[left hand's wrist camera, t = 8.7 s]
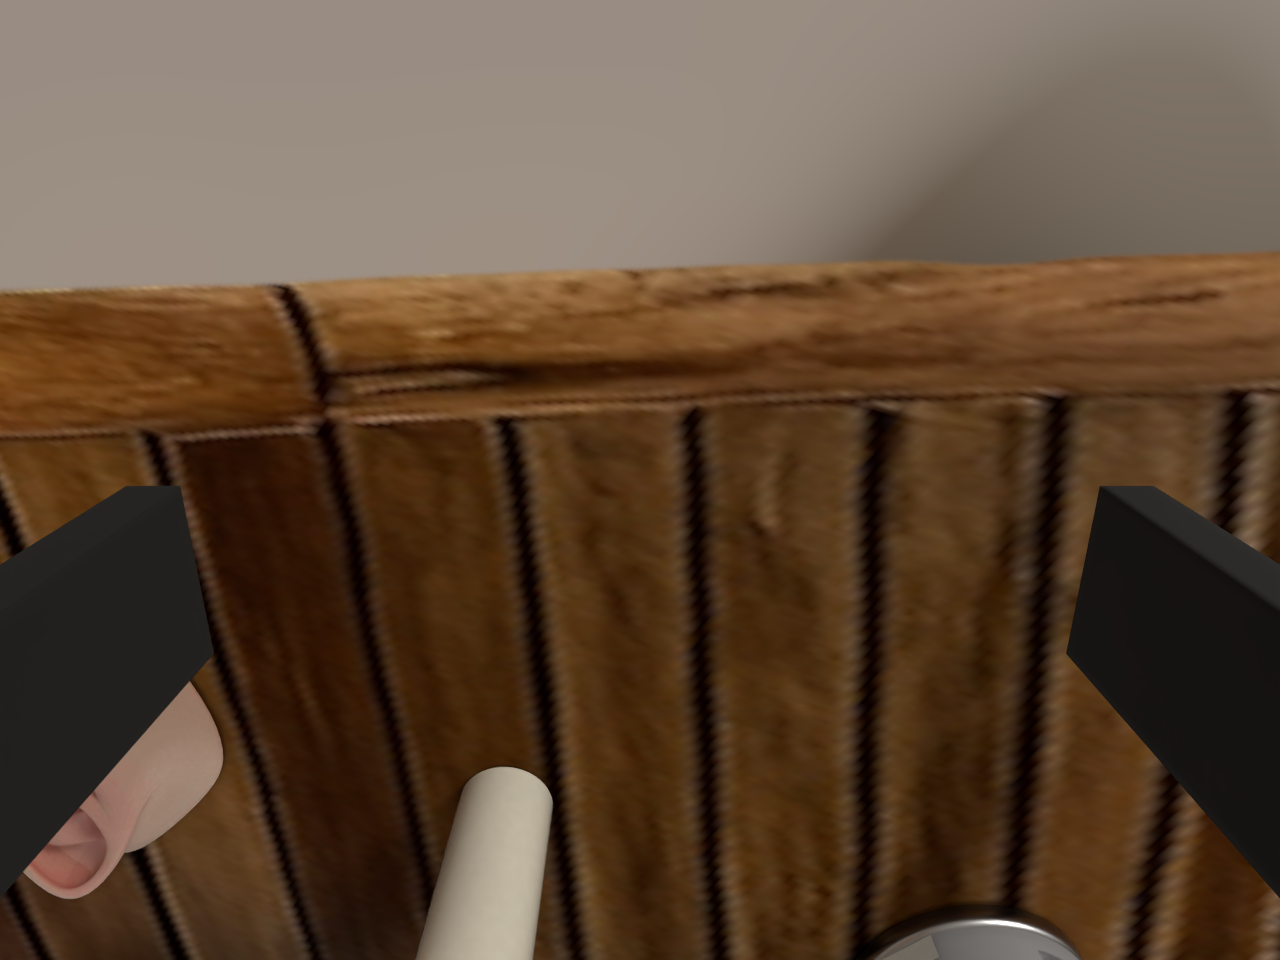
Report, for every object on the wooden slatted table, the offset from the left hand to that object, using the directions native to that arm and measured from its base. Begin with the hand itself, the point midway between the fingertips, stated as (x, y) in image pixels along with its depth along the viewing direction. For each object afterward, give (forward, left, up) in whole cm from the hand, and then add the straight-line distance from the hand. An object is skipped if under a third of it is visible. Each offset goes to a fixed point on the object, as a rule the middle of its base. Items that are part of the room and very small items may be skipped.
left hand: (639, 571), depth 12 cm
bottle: (-27, +11, -27) cm, 40 cm away
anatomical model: (-21, +31, -27) cm, 46 cm away
